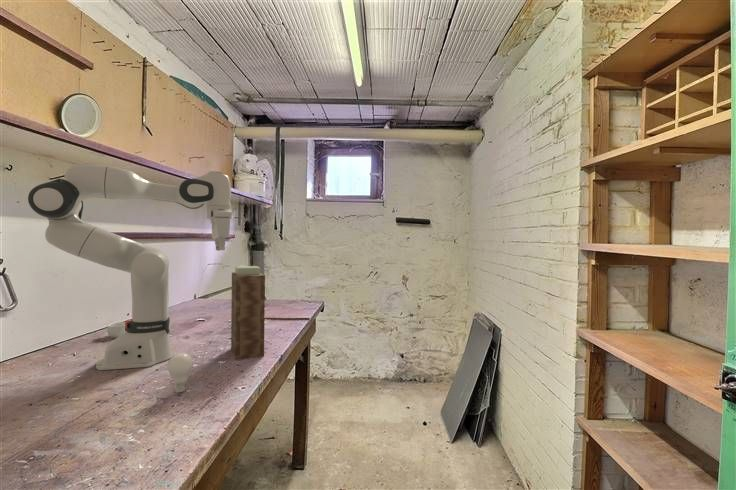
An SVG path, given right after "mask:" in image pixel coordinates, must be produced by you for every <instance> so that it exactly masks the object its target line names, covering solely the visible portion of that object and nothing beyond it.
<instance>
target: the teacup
mask: <svg viewBox="0 0 736 490" xmlns="http://www.w3.org/2000/svg"><path fill="white" fill-rule="evenodd" d="M125 322H126V321H120V322H119V321H118V322H113V323H109V324H107V327H106V328H107V334H108V336H109V337H110V338H112V339H116V338H118V337H119V336H120V335H122V334H123V333H124V332H126V331H125Z"/></svg>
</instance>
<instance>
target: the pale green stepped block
mask: <svg viewBox="0 0 736 490" xmlns="http://www.w3.org/2000/svg"><path fill="white" fill-rule="evenodd" d="M234 272H235V273H236V274H237V275H254V274H260V273H261V267H260V266H257V265H249V266H248V265H245V264H243V265H242V264H240V265H238V266H235V267H234Z"/></svg>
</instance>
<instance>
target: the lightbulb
mask: <svg viewBox="0 0 736 490" xmlns="http://www.w3.org/2000/svg"><path fill="white" fill-rule="evenodd" d="M193 365H194V361H193V358H192V357H191V355H190V354H188V353H185V352H179V353H176V354H173V356H172V357H171V358H169V359H168V361H167V366H166V367H167V368H166V369H167V372H168V374H169V375H171V376H172V380H173V383H174V392H176V393H178V394H182V393H183V392H184V391H186V381H187V379H188V375H189V373H191V370H192V369H193V367H194V366H193Z"/></svg>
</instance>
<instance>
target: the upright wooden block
mask: <svg viewBox="0 0 736 490" xmlns="http://www.w3.org/2000/svg"><path fill="white" fill-rule="evenodd" d="M265 295H266V275H265V274H263V273H262V272H260V274H254V275H237V274H236V273H235V271H234V272H231V306H230V308H231V311H230V312H231V314H230V315H231V316H230V317H231V318H230V321H231V323H230V326H231V327H230V336H231V337H230V349H231V352H232V355H233V358H234V360H236V361H239V360H245V359H252V358H253V359H254V358H260V357H265V317H266V316H265V313H266V311H265V310H266V309H265V302H266V299H265V297H266V296H265Z"/></svg>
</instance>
